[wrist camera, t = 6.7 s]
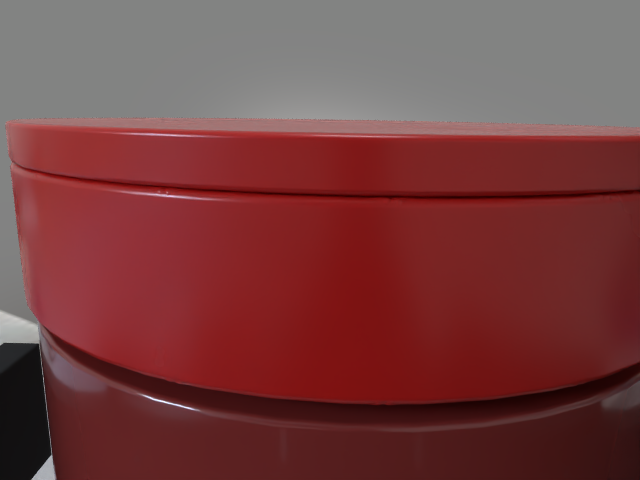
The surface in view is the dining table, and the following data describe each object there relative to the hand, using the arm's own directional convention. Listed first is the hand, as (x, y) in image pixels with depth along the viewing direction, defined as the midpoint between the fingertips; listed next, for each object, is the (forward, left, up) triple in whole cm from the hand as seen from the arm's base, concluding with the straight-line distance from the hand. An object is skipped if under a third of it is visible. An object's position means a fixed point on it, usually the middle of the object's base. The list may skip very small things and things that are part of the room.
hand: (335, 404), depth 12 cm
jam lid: (-2, +3, +6) cm, 7 cm away
